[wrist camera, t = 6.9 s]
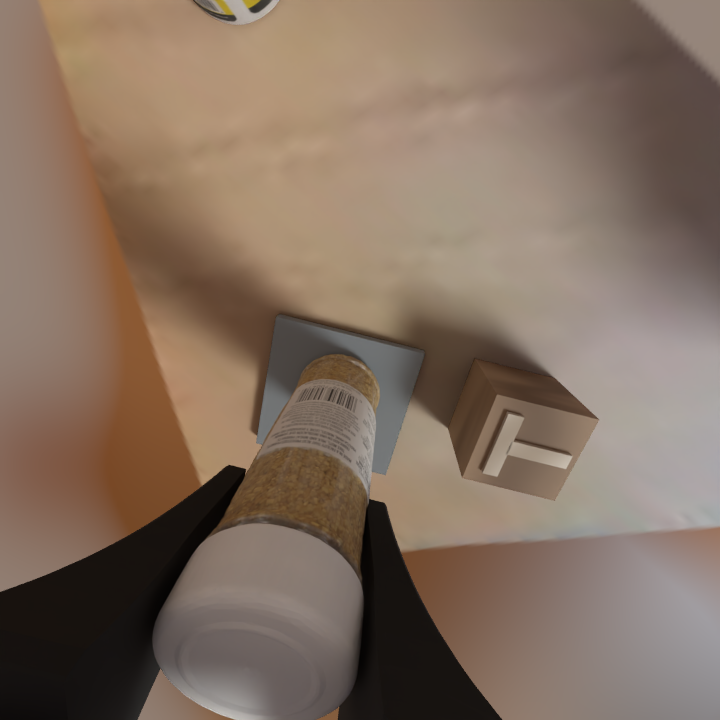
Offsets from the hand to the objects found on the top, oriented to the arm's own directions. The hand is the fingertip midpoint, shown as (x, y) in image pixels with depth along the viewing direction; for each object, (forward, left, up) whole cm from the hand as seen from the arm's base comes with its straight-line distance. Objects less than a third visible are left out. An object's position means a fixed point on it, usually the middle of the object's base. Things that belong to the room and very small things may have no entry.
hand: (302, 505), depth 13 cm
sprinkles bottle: (0, -1, -8) cm, 8 cm away
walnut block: (-9, -2, -9) cm, 13 cm away
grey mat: (0, 0, -9) cm, 9 cm away
